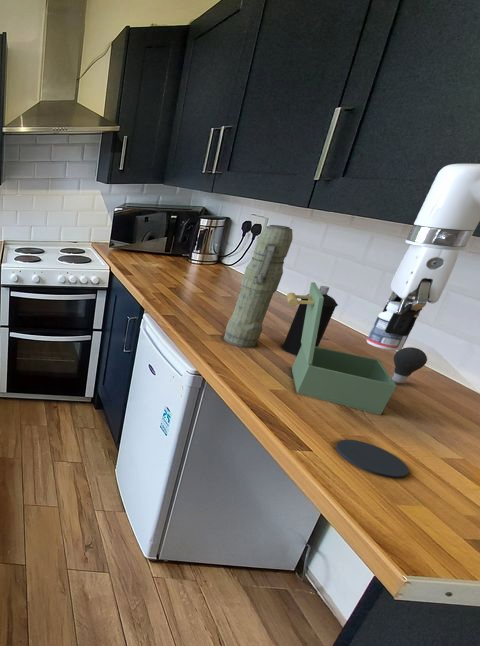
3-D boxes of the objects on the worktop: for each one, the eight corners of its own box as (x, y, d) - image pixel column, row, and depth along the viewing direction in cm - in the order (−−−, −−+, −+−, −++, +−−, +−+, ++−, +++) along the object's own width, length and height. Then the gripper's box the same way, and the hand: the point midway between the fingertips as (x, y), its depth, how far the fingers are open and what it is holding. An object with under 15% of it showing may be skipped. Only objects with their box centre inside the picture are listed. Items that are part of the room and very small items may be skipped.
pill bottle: (377, 339, 84) (397, 299, 81) (407, 350, 80) (430, 308, 76) (359, 341, 83) (378, 301, 80) (388, 352, 79) (410, 309, 75)
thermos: (256, 338, 126) (297, 225, 112) (256, 352, 117) (301, 231, 103) (223, 331, 131) (259, 222, 116) (221, 344, 122) (260, 227, 107)
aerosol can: (320, 359, 114) (350, 293, 106) (286, 354, 117) (313, 288, 109) (309, 348, 121) (336, 284, 113) (277, 343, 124) (301, 281, 116)
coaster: (398, 454, 77) (399, 452, 77) (414, 487, 69) (416, 484, 69) (332, 435, 82) (333, 433, 82) (340, 463, 74) (342, 461, 74)
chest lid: (315, 282, 100) (286, 282, 103) (323, 297, 88) (291, 297, 91) (304, 342, 105) (278, 340, 108) (311, 364, 93) (281, 361, 96)
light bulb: (417, 388, 101) (438, 352, 97) (400, 389, 100) (420, 353, 96) (393, 376, 106) (411, 343, 102) (375, 378, 105) (394, 343, 101)
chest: (365, 386, 101) (379, 359, 98) (380, 415, 89) (396, 386, 86) (291, 368, 109) (302, 343, 105) (296, 393, 97) (308, 365, 94)
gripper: (488, 247, 64) (431, 349, 72) (450, 234, 77) (405, 321, 85) (423, 241, 68) (375, 338, 75) (397, 229, 81) (359, 313, 88)
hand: (392, 328), depth 80 cm, fingers closed on pill bottle, 5 cm apart
